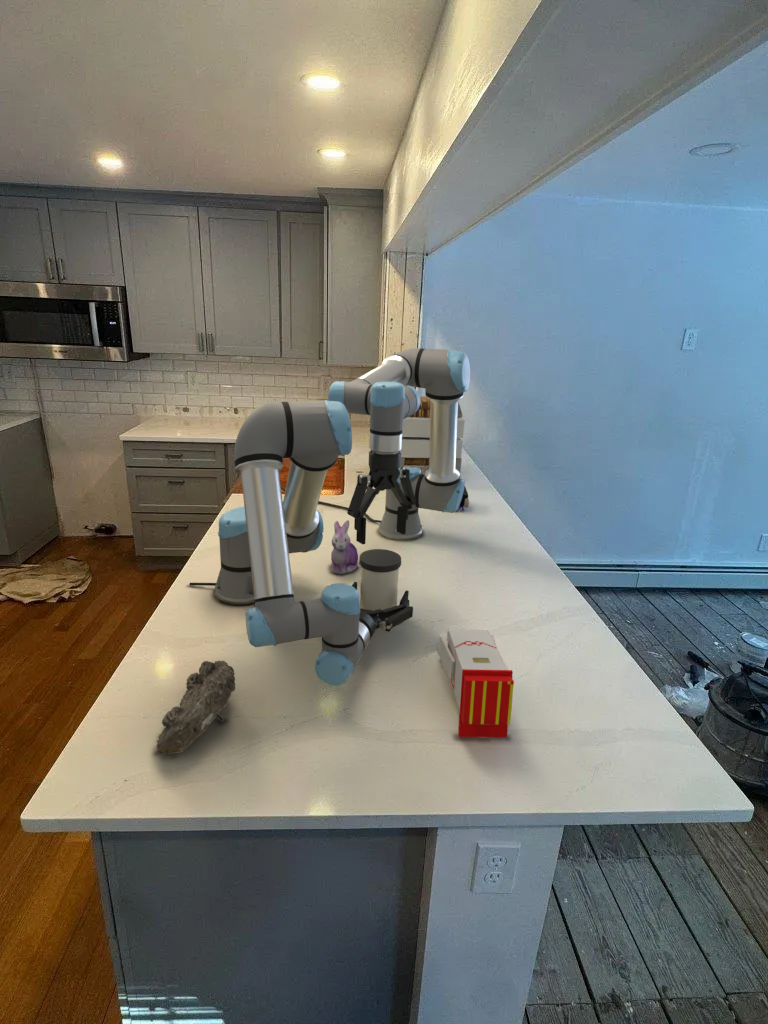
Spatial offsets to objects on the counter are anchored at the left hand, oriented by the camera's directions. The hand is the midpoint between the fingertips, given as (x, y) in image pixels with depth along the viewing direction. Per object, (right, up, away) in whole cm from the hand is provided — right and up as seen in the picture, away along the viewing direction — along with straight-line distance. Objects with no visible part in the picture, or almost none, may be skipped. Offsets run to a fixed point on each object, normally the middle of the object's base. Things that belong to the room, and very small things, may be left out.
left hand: (381, 590), depth 145 cm
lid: (0, +9, -4) cm, 10 cm away
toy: (+19, -18, -26) cm, 37 cm away
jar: (-1, -7, +1) cm, 7 cm away
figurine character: (+31, +22, +85) cm, 93 cm away
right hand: (0, +14, -6) cm, 15 cm away
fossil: (-34, -19, -37) cm, 54 cm away
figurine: (-11, +3, +27) cm, 29 cm away
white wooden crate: (+18, +39, +130) cm, 137 cm away
